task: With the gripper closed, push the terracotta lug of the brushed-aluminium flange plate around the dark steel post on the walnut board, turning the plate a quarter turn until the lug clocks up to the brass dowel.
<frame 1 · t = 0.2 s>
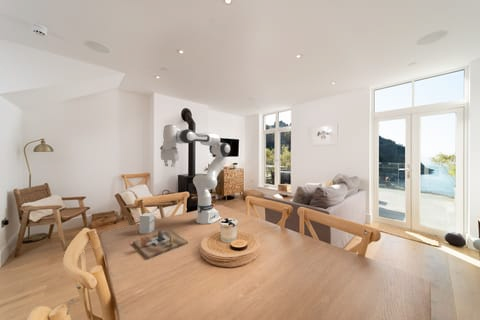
hand: (169, 166, 129), 47 cm above the table, fingers open, 8 cm apart
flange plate: (155, 237, 110), point 5 cm above the table, hinge at 0.0°
supplement box: (147, 231, 131), on the table
walnut board: (160, 243, 113), on the table
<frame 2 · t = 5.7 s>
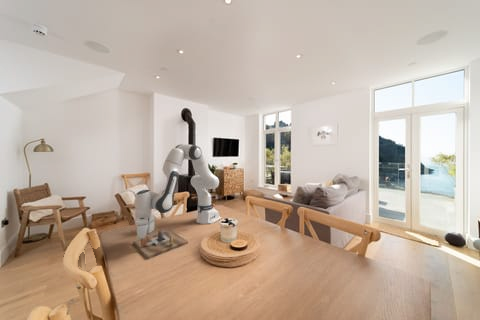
hand: (143, 239, 109), 4 cm above the table, fingers closed
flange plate: (155, 237, 110), point 5 cm above the table, hinge at 0.0°, touching gripper
everything else where it was.
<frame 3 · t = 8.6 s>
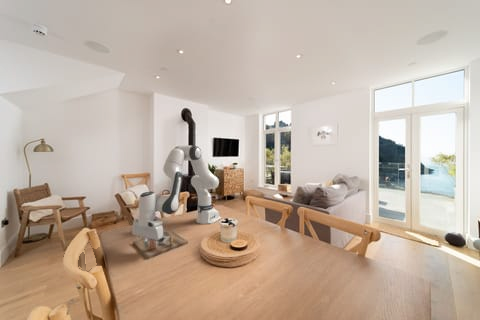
hand: (146, 244, 104), 4 cm above the table, fingers closed
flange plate: (158, 238, 110), point 5 cm above the table, hinge at 42.2°, touching gripper
everything else where it was.
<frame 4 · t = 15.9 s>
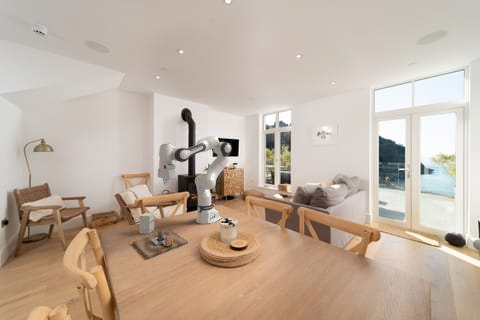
hand: (165, 184, 132), 34 cm above the table, fingers closed
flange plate: (163, 237, 111), point 5 cm above the table, hinge at 90.0°, touching walnut board
everything else where it was.
at the end: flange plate at +90° (first picture: +0°) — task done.
